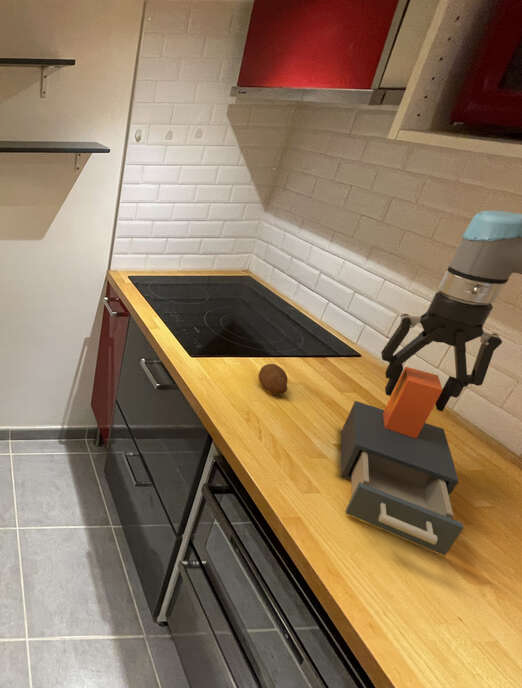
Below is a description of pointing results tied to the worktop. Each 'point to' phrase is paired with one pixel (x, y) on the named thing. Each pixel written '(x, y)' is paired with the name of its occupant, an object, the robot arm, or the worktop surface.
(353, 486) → the drawer
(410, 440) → the cabinet
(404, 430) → the box
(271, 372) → the potato
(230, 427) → the worktop surface
